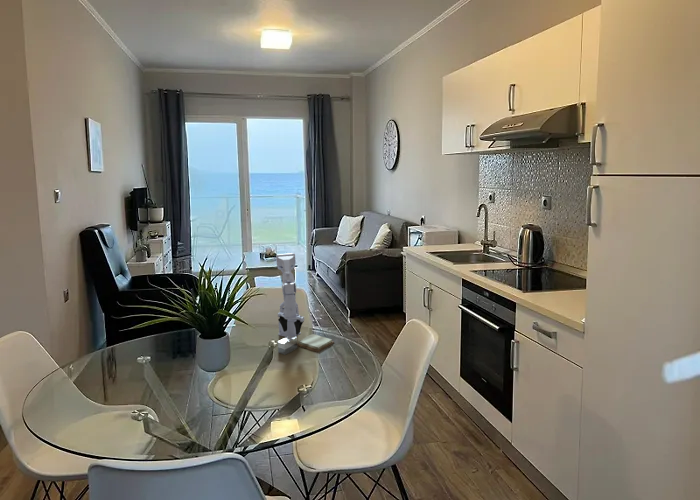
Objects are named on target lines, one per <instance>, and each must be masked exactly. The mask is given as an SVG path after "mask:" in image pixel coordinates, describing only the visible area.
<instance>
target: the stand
mask: <svg viewBox="0 0 700 500" xmlns="http://www.w3.org/2000/svg"><path fill="white" fill-rule="evenodd" d="M334 343H335V340H333V339H331V338H328V337H325V336H322V335H321V336H320V335H318V334H316V333H315V334H314V333H312V334H309V335H307V336H305V337H304V338H301V339H300V340H299V341H298V342H297V347H300V348H304V349H307V350H309V351H313V352H316V353H319V352H321V351H323V350H324V349H326V348H328V347H329V346H331V345H332V344H334Z"/></svg>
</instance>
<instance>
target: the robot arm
mask: <svg viewBox="0 0 700 500" xmlns="http://www.w3.org/2000/svg"><path fill="white" fill-rule="evenodd" d="M275 260H276V269H278V270H279V271H281V273H282V275H281V279H282V286H281V287H282V288H281V289H282V296H283V301H282V302H281V303H280V304H279V312H278V313H277V317H278V335H277V336H281V337H284V338H286V337H288V336H290V335H291V336H294V337H297V336H299V335H301V330H302V325H303V323H304V322H305V316H302V315H300V313H299V312H300V311H299V304H298V303H297V299H296V297H297V295H296V294H297V284H296V282H295V275H294V273H293V272H292V270H293V269H295V268H296V254H295V252H290V253H276V254H275Z"/></svg>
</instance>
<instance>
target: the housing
mask: <svg viewBox="0 0 700 500" xmlns="http://www.w3.org/2000/svg"><path fill="white" fill-rule="evenodd" d="M297 344H298V337H297V336H295V337H294V336H291V335H290V336H288V337H284V338H282V339H280V340H278V341H277V351H278V354H281V355H287V354H290V353H291V352H293V351H295V350H297V349H298V346H297Z"/></svg>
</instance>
